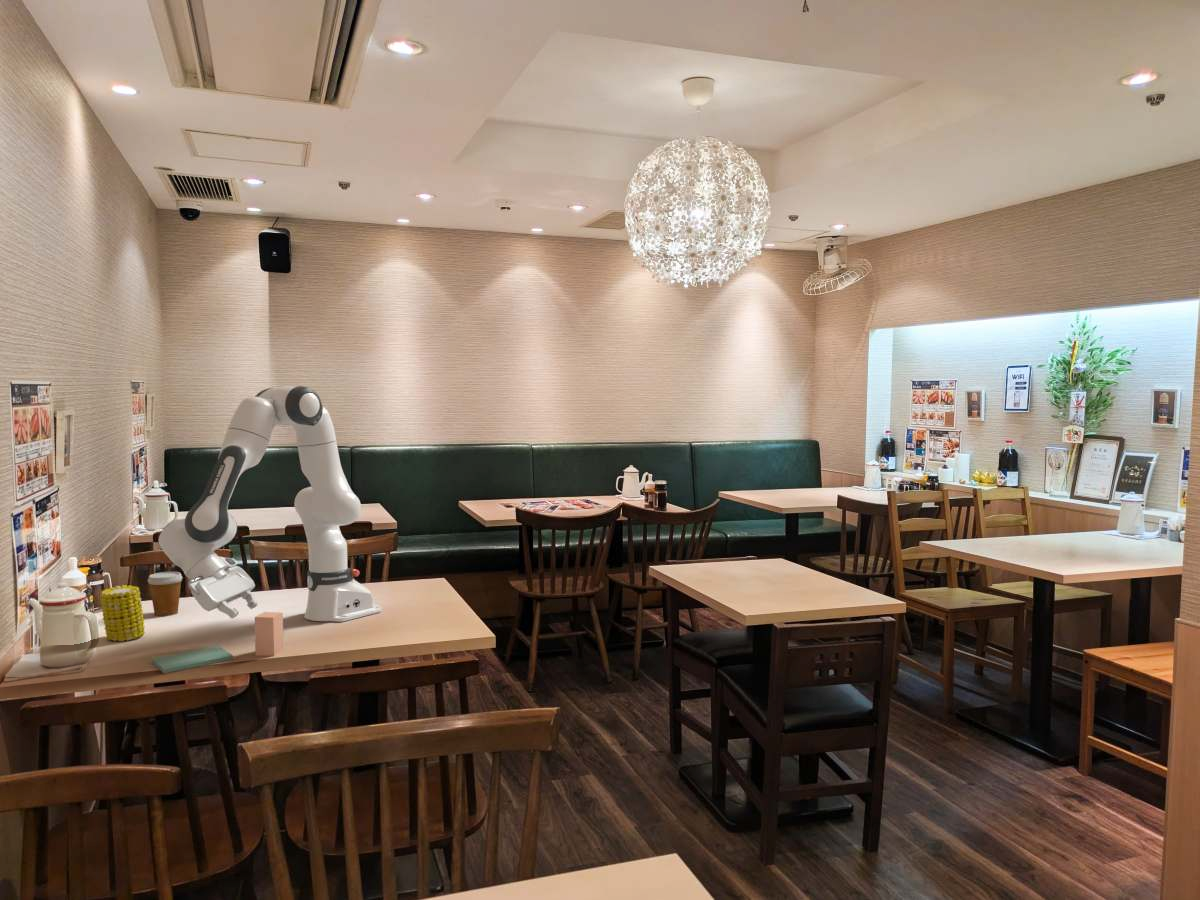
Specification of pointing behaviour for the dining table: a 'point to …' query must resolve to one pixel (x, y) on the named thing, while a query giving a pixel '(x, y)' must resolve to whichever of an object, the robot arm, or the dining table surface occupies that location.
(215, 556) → the robot arm
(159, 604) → the disposable coffee cup
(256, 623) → the terracotta block
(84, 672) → the dining table surface
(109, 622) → the food
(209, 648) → the green pad
